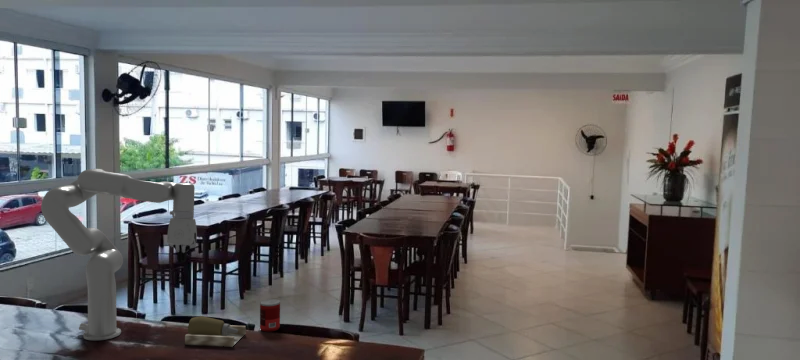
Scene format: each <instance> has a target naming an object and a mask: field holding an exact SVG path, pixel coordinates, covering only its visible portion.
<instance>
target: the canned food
mask: <svg viewBox="0 0 800 360" xmlns="http://www.w3.org/2000/svg"><path fill="white" fill-rule="evenodd" d="M280 327H281V300H279V299H270V298H268V299H264V300H261V301H260V303H259V329H260V331H262V332H267V333H268V332H269V333H270V332H275V331H278V330H279V329H280Z"/></svg>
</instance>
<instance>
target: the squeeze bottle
mask: <svg viewBox="0 0 800 360" xmlns="http://www.w3.org/2000/svg"><path fill="white" fill-rule="evenodd" d="M230 325H231V324H230V323H225V322H224V320H221V319H216V318H212V317H208V316H204V315H200V316H196V317H191V319H189V322H188V326H187V334H191V335H214V336H228V334H231V333H237V332H238V330H237V329H234V328H231V327H230Z"/></svg>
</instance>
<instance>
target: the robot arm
mask: <svg viewBox="0 0 800 360" xmlns="http://www.w3.org/2000/svg"><path fill="white" fill-rule="evenodd" d="M195 191H196V190H195V184H193V183H190V182H171V181H159V182H155V181H148V180H147V181H146V180H141V179H138V178H134V177H131V176H130V175H129V174H124V173H119V172H110V171H106V170H104V169H103V168H88V169H85V170H83V171H81V172H80V173H79V175H78V176H77V179H76V180H74V181H73V182H71V183H69V184H67V185H60V186H56V187H53V188H51V189H49V190H48V191H47V192H46V193H45V195H44V196H43V198H42V201H41V205H40V206H41V212H42V213H41V214H42V216H43V218H44V219H45V221H46V222H47V224H48V225H50V227H51V228H52V229H53V230H54V231H55V232H56V234H57V235H58V236H59V238H61V240H62V241H63V242H64V243H65V245H67V246H68V248H69V249H70V250H71V251H72V252H73V254H75V255H77V256H80V257H81V256H83V257H85V256H89V257H90V258H89V259H88V261H87V262H86V265H85V277H86V283H87V323H80V324H79V327H78V330H80V331H85V332H83V335H82V336H83V339H84V340H87V341H93V342H94V341H104V340H105V341H106V340H110V339H113V338H117V337H118V336H120V335H121V333H122V330H121V328H119V327H117V284H116V282H117V281H116V277H115V276H116V275H115V273H116V272H117V271H119V270H120V269H121V268H122V265H123V264H124V258H123V254H122V253H121V251H120V250H119V249H118V247H116V246H115V244H114V243H113V242H112V241H111V239H109V237H108V236H107V235H106V234H105V233H104V231H102V230H100V229H98V228H97V227H87V226H85V225H84V223H83V222H81V220H80V219H79V218H78V217H77V215H75V214H74V213H73V212H71V210H70V209H71V208H73V207H77V206H79V205H81V204H83V203H84V202H86V201H87V200H89V199H91V198H92V197H94V196H95V195H97V194H102V195H107V196H108V195H109V196H114V197H122V198H125V199H132V200H136V201H142V202H147V203H148V202H149V203H154V204H155V203H156V204H160V203H165V202H168V201H172V202H173V204H172V210H170V212H169V215H170V216H171V215H172V216H171V217H170V220H169V223H168V228H167V236H166V239H167V243H168V246H169V247H171V248H174V250H175V252H176V253H177V254H176V255H177V257H176V258H177V263H178V264H179V263H181V264H182V263H185V262H187V259H188V258H187V256H188V255H187V254H188V251H189V250H190V249H194V248H197V240H198V230H197V222H196V219H195V217H194V215H195Z"/></svg>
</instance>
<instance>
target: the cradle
mask: <svg viewBox="0 0 800 360" xmlns="http://www.w3.org/2000/svg"><path fill="white" fill-rule="evenodd" d="M229 325H230V327H231V328H234V329H237V330H238V332H237V333H231V334H228V336H214V335H191V334H188V333H187V334H185V335H184V345H185V346H206V347H223V346H224V347H225V348H226V347H229V348H234V347H235V346H236V345H237V344H238V343H239V342H240V341H241V340H242V339H243V338H244V337H245V336H246V335H245V334H247V327H246V325H237V324H236V325H233V324H232V325H231V324H229ZM244 335H245V336H244ZM243 336H244V337H243ZM242 337H243V338H242ZM241 338H242V339H241ZM240 339H241V340H240ZM239 340H240V341H239ZM238 341H239V342H238ZM237 342H238V343H237ZM236 343H237V344H236ZM235 344H236V345H235ZM234 345H235V346H234ZM233 346H234V347H233Z"/></svg>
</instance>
